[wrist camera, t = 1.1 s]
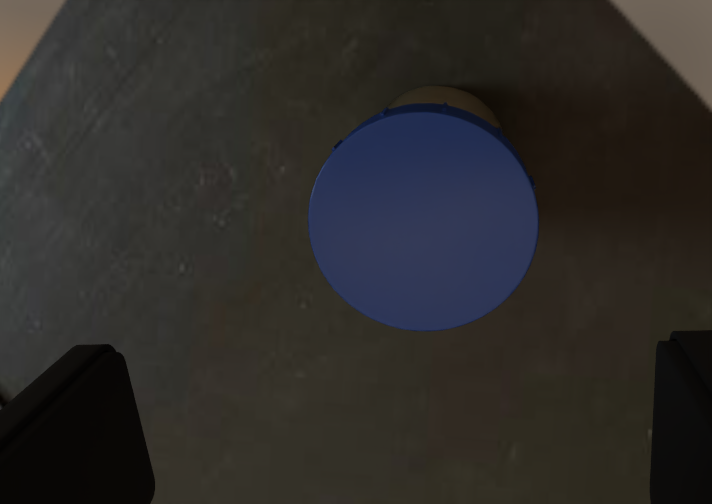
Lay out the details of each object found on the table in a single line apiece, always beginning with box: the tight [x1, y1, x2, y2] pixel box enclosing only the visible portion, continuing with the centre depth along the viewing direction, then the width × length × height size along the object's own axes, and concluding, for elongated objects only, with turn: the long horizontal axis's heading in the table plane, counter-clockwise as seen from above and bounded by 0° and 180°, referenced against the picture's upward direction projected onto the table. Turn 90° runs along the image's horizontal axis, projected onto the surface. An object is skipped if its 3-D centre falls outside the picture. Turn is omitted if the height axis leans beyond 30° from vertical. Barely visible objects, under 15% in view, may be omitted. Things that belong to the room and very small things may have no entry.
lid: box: [308, 102, 539, 331], centre depth 21 cm, size 7×7×2 cm
